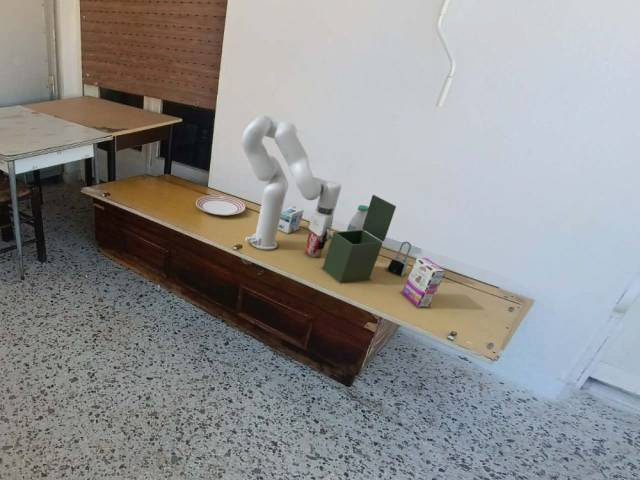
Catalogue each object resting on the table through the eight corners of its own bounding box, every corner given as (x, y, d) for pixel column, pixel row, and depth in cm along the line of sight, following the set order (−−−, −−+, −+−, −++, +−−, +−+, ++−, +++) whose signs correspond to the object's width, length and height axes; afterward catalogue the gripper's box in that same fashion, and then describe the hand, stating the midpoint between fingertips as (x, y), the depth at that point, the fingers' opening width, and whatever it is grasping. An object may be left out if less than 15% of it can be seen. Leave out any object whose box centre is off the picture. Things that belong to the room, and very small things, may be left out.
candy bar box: (429, 307, 179) (446, 271, 171) (417, 307, 179) (434, 271, 170) (412, 292, 189) (427, 257, 180) (401, 292, 188) (415, 257, 180)
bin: (340, 282, 193) (352, 245, 184) (322, 268, 203) (333, 232, 194) (369, 279, 197) (383, 242, 187) (350, 265, 207) (362, 229, 197)
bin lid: (394, 206, 179) (396, 206, 179) (372, 195, 189) (374, 194, 189) (382, 241, 187) (384, 241, 187) (362, 228, 197) (363, 228, 197)
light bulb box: (287, 233, 233) (292, 214, 227) (276, 229, 238) (281, 210, 232) (299, 229, 239) (304, 209, 233) (288, 224, 243) (293, 205, 238)
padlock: (385, 270, 204) (397, 240, 196) (390, 267, 206) (402, 237, 199) (400, 276, 200) (413, 246, 192) (405, 274, 202) (418, 243, 194)
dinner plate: (234, 223, 242) (235, 217, 240) (187, 211, 254) (188, 205, 252) (251, 207, 262) (252, 202, 260) (207, 197, 274) (207, 191, 272)
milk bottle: (358, 242, 228) (371, 205, 217) (360, 249, 221) (373, 210, 211) (342, 240, 230) (354, 202, 219) (343, 246, 223) (355, 208, 213)
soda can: (321, 259, 211) (328, 235, 205) (305, 257, 212) (312, 233, 206) (319, 252, 217) (325, 229, 211) (303, 250, 218) (310, 227, 212)
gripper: (306, 202, 209) (297, 237, 218) (330, 217, 195) (319, 254, 204) (321, 201, 211) (311, 236, 220) (345, 216, 196) (333, 253, 206)
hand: (315, 245), depth 212 cm, fingers closed on soda can, 7 cm apart
